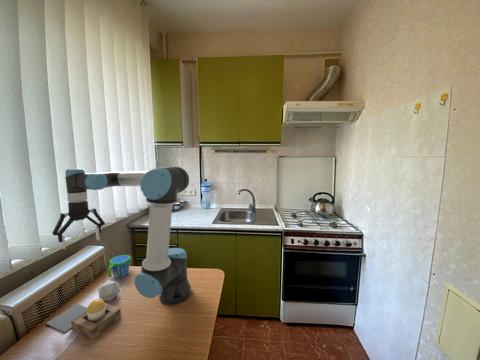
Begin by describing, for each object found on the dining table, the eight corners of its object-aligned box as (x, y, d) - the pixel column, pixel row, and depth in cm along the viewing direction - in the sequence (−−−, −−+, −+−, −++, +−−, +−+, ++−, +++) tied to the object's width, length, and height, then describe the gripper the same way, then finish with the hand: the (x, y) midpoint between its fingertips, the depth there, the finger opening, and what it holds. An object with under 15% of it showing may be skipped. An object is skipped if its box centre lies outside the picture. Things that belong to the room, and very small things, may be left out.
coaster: (95, 312, 92) (95, 310, 92) (64, 333, 81) (64, 331, 81) (77, 305, 96) (77, 303, 96) (46, 324, 85) (46, 323, 85)
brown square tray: (120, 317, 89) (120, 308, 89) (92, 339, 78) (91, 330, 78) (101, 309, 94) (100, 301, 93) (71, 330, 82) (71, 320, 82)
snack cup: (115, 285, 111) (114, 267, 110) (101, 280, 115) (100, 263, 114) (138, 270, 126) (138, 254, 125) (126, 267, 130) (125, 251, 129)
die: (124, 296, 103) (122, 276, 107) (113, 299, 95) (110, 276, 99) (108, 303, 103) (106, 282, 107) (94, 306, 95) (93, 283, 99)
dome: (109, 314, 87) (107, 297, 86) (94, 324, 82) (93, 307, 81) (99, 310, 89) (98, 294, 89) (84, 320, 84) (83, 303, 83)
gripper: (105, 196, 111) (107, 234, 114) (41, 204, 93) (46, 249, 95) (110, 198, 107) (112, 237, 109) (43, 206, 88) (48, 254, 90)
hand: (81, 243), depth 102 cm, fingers open, 13 cm apart
